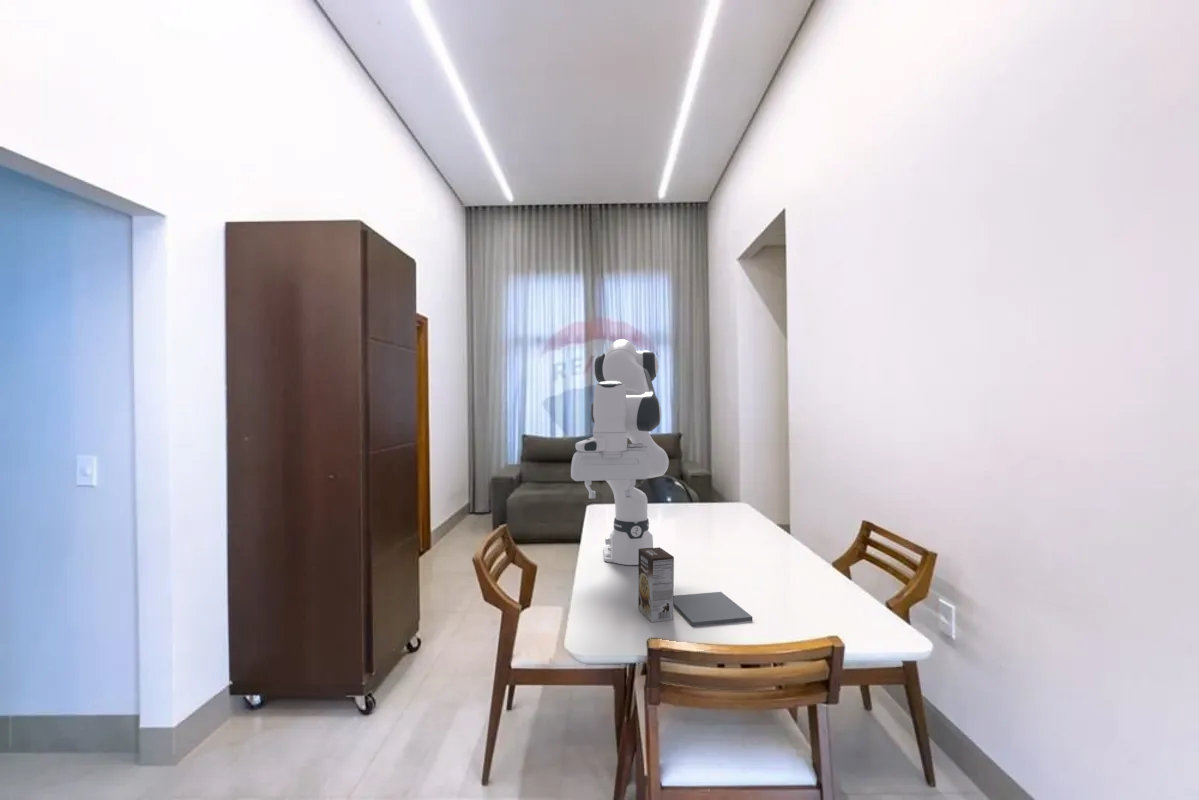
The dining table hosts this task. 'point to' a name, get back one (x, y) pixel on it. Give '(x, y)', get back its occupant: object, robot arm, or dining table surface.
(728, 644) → the dining table surface
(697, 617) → the mat
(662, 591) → the coffee box
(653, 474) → the robot arm
